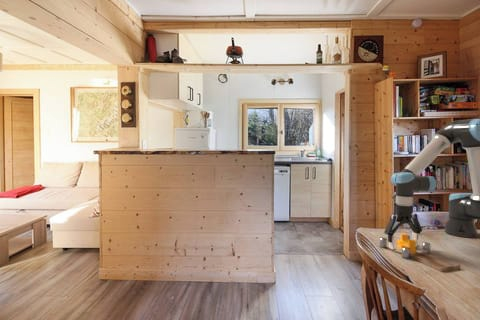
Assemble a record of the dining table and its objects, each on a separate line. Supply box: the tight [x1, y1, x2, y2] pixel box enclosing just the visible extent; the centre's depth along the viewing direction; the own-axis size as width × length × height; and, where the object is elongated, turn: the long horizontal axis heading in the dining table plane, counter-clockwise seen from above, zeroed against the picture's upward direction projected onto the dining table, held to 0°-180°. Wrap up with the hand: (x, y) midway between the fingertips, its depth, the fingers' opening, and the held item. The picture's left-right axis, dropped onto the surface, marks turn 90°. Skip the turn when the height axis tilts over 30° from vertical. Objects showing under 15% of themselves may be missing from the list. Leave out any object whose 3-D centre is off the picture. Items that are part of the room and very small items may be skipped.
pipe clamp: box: [396, 232, 417, 254], centre depth 148 cm, size 12×4×6 cm, turn 170°
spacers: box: [379, 234, 431, 260], centre depth 147 cm, size 17×18×4 cm
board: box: [410, 251, 461, 273], centre depth 132 cm, size 10×16×2 cm, turn 15°
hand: (402, 247), depth 148 cm, fingers open, 13 cm apart
